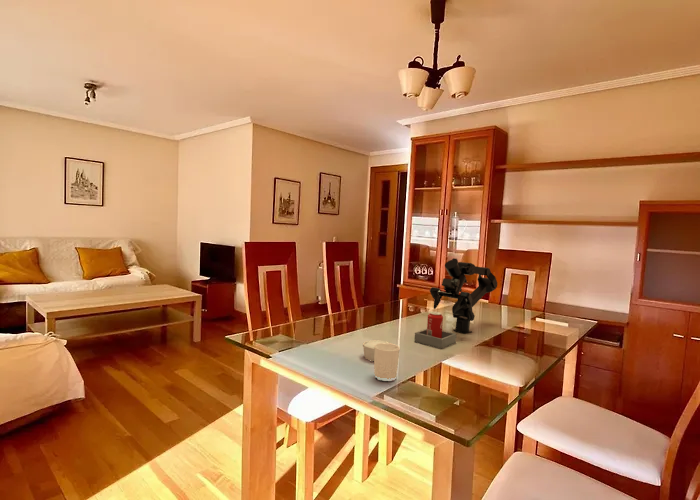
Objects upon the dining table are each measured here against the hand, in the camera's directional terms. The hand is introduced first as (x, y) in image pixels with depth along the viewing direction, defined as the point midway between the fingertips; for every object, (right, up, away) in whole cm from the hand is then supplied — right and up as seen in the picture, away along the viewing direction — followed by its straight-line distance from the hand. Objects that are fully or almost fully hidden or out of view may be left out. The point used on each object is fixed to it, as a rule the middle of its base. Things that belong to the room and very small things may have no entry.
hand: (443, 310), depth 165 cm
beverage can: (-6, -12, -6) cm, 15 cm away
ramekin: (-31, -13, -30) cm, 45 cm away
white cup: (-30, -14, -48) cm, 58 cm away
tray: (-5, -13, -6) cm, 15 cm away
